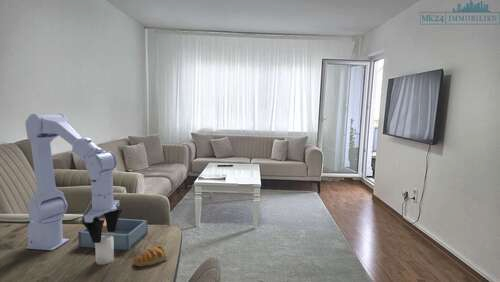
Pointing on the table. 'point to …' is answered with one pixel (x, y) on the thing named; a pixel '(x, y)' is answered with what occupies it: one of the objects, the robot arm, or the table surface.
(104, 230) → the cube
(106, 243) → the white egg shape
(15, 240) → the table surface
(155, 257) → the pastry
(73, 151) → the robot arm
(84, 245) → the tote
